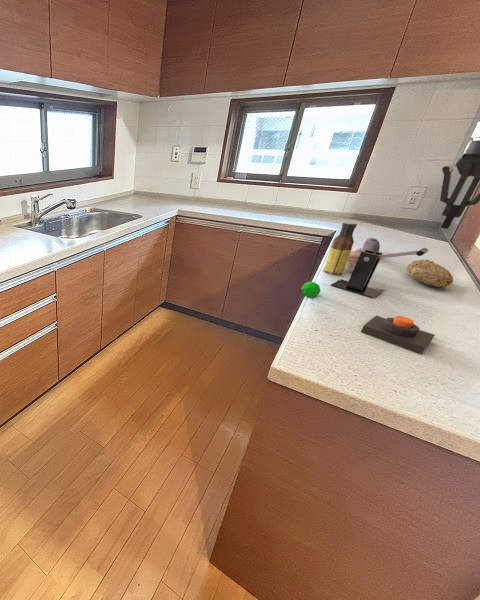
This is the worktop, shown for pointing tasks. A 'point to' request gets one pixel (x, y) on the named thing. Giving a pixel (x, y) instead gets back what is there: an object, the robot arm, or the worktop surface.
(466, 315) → the worktop surface
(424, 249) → the lever
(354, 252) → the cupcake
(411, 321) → the button
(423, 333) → the button block
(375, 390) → the worktop surface
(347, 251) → the sauce bottle
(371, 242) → the perforated stone tool
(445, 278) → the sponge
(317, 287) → the green bumpy ball
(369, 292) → the bracket
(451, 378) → the worktop surface
